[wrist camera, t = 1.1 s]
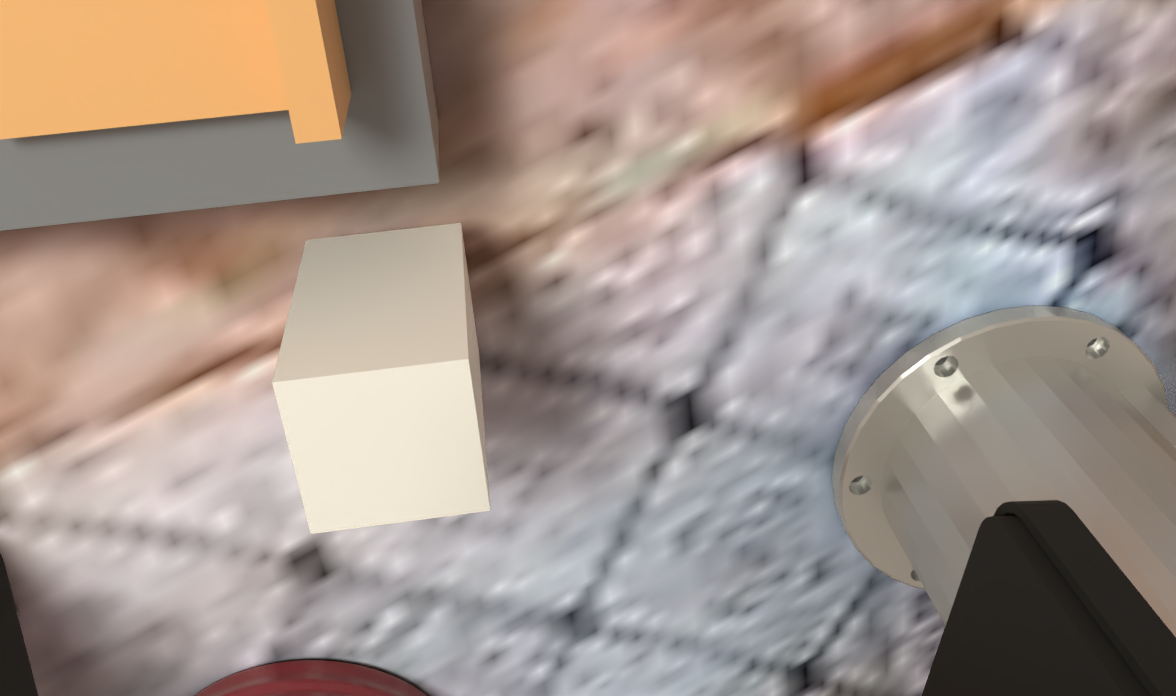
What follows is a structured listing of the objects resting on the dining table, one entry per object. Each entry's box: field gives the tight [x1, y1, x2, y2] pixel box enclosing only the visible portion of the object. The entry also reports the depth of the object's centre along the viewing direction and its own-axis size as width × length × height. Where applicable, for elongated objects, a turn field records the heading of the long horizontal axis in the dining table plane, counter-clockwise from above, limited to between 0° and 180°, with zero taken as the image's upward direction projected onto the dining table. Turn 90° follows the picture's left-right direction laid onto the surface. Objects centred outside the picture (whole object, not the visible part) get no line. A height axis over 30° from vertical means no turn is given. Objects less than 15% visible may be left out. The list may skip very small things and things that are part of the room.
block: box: [272, 223, 490, 534], centre depth 31 cm, size 5×5×10 cm
